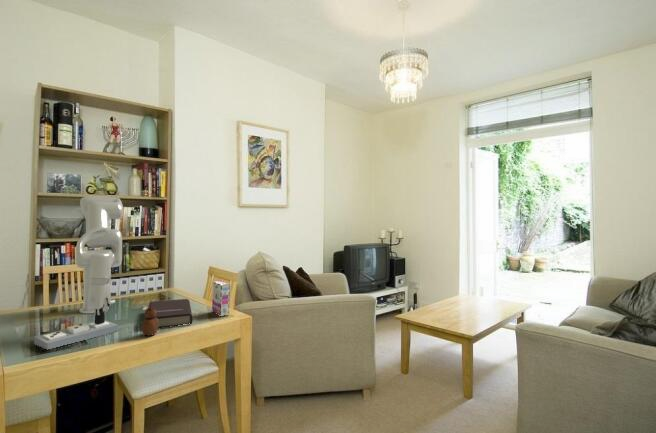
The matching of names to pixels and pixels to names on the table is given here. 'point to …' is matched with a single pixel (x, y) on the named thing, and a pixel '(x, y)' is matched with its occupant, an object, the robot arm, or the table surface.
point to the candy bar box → (220, 297)
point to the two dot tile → (78, 328)
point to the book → (172, 312)
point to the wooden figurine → (150, 321)
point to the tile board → (74, 336)
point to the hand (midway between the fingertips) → (99, 323)
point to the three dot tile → (54, 335)
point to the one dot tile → (99, 325)
